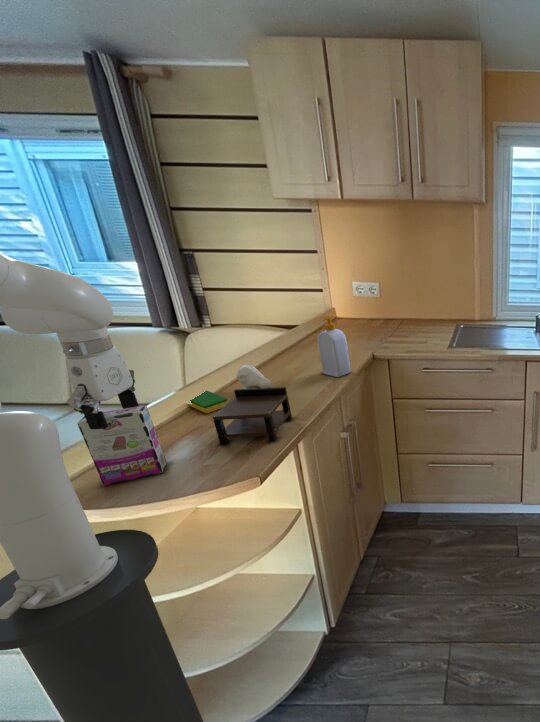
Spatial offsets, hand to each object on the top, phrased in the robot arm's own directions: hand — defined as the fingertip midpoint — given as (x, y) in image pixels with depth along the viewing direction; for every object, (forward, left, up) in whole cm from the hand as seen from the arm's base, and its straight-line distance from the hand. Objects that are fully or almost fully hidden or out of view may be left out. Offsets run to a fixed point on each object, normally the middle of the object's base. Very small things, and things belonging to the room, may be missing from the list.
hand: (116, 417), depth 92 cm
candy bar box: (0, 0, -15) cm, 15 cm away
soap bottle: (+65, -32, -15) cm, 74 cm away
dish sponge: (+40, +4, -15) cm, 43 cm away
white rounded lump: (+52, -7, -15) cm, 54 cm away
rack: (+19, -20, -15) cm, 31 cm away
